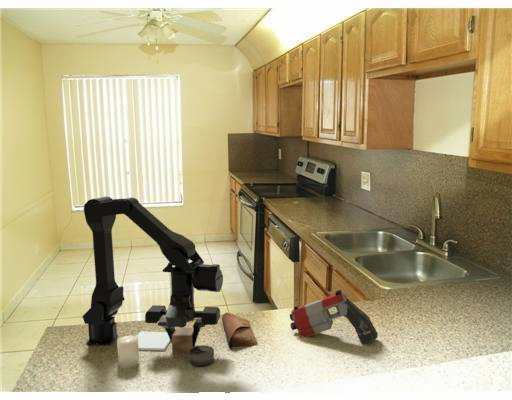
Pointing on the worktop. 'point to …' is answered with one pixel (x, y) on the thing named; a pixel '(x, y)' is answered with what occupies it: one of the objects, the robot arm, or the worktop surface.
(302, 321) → the toy gun
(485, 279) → the worktop surface
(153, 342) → the tile
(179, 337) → the walnut cube
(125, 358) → the stoneware jar
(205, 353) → the black tin
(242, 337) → the sunglasses case
